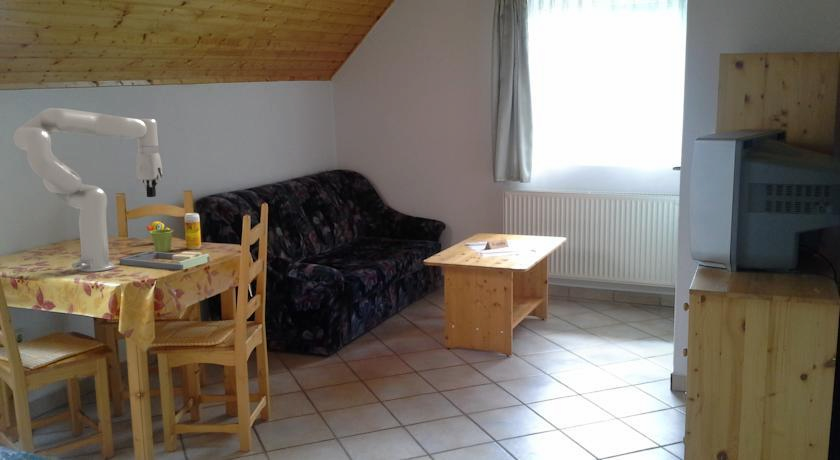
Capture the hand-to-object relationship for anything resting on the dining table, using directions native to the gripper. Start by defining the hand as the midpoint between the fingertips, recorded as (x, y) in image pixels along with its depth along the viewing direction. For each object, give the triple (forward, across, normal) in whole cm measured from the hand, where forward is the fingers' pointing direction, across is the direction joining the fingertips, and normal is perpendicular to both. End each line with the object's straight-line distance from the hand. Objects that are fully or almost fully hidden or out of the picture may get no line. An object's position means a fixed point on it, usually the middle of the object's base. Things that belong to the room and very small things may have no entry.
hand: (151, 196), depth 304 cm
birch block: (+25, +19, -2) cm, 32 cm away
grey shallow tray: (+25, +10, -5) cm, 27 cm away
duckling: (+25, -23, +25) cm, 42 cm away
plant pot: (+25, -8, +12) cm, 29 cm away
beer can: (+25, -1, +22) cm, 34 cm away
